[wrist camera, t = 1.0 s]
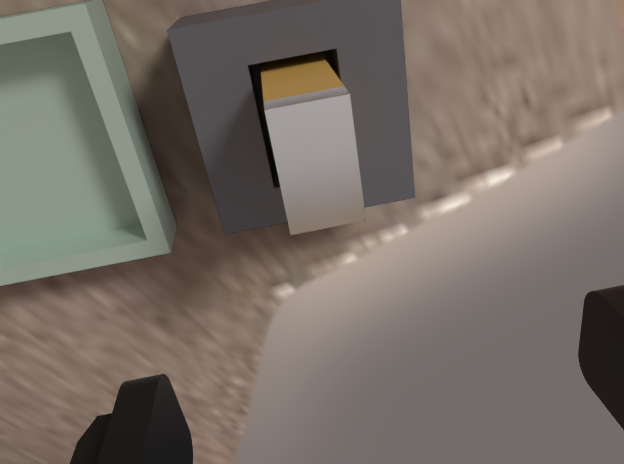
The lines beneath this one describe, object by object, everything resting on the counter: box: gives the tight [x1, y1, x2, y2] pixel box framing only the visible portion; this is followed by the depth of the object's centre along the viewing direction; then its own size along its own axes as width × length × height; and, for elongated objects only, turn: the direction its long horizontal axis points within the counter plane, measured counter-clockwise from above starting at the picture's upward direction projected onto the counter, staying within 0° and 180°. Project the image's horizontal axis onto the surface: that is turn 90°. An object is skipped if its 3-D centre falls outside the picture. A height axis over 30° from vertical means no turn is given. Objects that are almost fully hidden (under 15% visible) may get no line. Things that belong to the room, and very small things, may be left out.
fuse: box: [260, 52, 366, 235], centre depth 23 cm, size 3×5×10 cm, turn 9°
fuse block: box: [167, 0, 415, 235], centre depth 27 cm, size 10×10×5 cm
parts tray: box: [0, 0, 177, 286], centre depth 27 cm, size 13×13×3 cm
